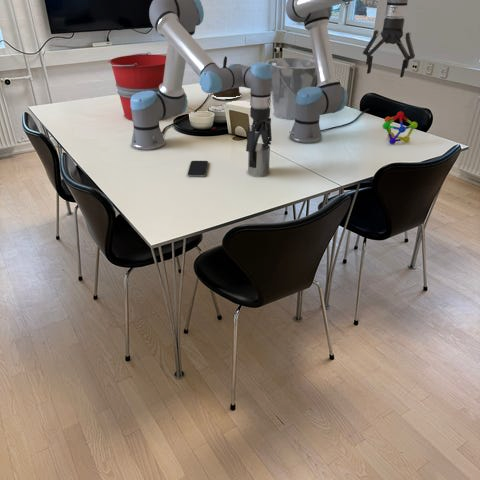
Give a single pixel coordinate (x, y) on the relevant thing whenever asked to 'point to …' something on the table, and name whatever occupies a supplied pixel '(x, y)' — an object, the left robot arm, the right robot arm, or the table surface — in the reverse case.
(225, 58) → the bell
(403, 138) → the educational toy
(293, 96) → the bucket
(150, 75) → the bucket
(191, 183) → the table surface
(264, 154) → the tin
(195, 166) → the smartphone
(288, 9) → the right robot arm
